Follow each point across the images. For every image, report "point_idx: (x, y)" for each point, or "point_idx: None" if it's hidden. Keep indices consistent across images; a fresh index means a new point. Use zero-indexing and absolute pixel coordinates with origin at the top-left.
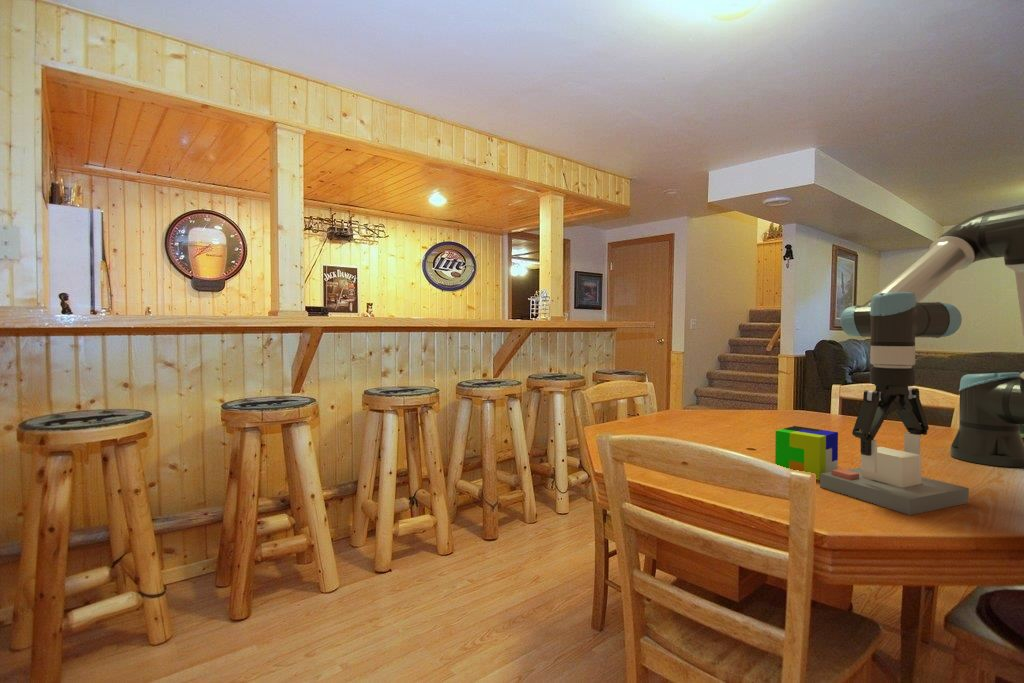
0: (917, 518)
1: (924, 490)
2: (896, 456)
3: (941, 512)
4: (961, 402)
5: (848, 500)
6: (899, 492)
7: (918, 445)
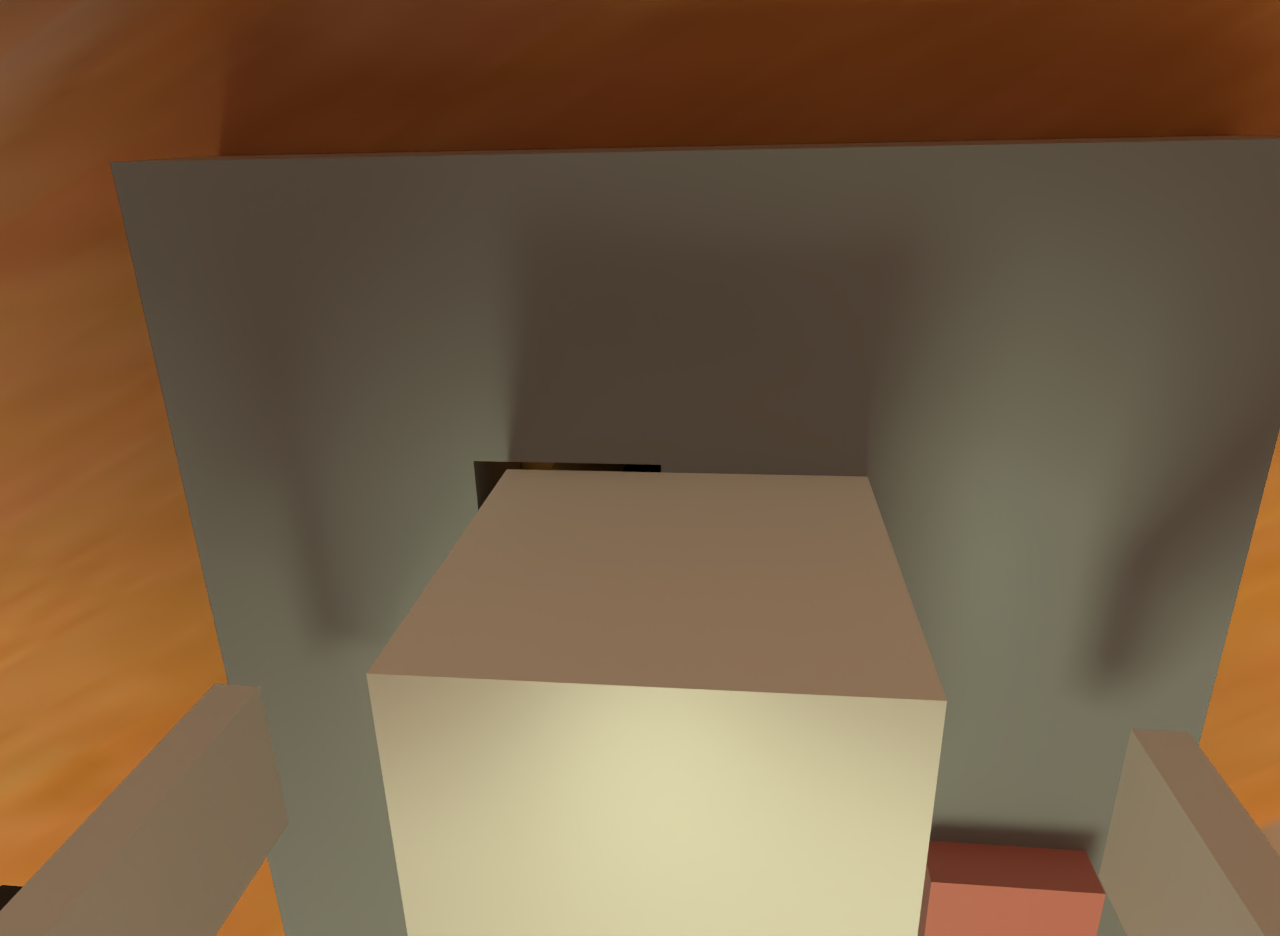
0: (1276, 32)
1: (733, 305)
2: (922, 791)
3: (799, 66)
4: None
5: (1258, 647)
6: (1127, 368)
7: (50, 918)
